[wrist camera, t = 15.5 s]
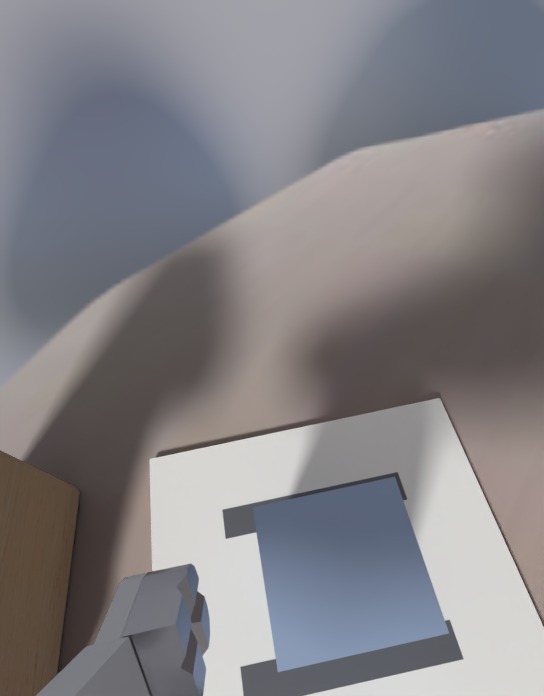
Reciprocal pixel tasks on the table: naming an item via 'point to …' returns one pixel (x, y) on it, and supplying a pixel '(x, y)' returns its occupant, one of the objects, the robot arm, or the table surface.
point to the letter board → (430, 530)
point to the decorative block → (33, 573)
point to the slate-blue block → (344, 574)
